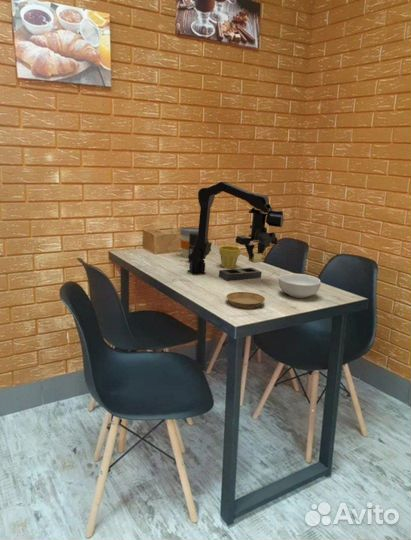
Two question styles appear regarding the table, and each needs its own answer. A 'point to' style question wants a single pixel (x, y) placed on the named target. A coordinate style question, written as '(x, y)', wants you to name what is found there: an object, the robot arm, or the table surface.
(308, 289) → the cereal bowl
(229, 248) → the plant pot
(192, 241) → the deodorant
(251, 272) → the rail
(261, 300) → the plant saucer
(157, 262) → the table surface
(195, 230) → the reusable coffee cup
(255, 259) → the nut
